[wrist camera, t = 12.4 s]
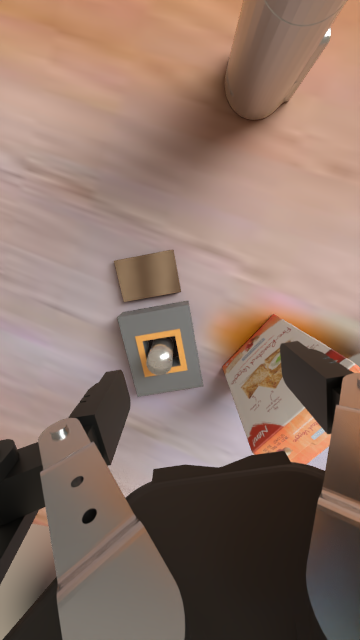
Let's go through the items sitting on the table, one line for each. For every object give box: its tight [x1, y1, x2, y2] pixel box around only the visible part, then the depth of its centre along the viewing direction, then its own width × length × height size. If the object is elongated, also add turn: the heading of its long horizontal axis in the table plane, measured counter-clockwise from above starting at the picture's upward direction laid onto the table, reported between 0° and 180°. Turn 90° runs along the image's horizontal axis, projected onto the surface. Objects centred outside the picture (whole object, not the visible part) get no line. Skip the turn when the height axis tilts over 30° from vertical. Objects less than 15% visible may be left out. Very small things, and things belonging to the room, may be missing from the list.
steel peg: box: [146, 337, 174, 375], centre depth 39 cm, size 4×4×8 cm
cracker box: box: [222, 314, 360, 464], centre depth 33 cm, size 14×6×21 cm, turn 140°
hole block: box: [117, 301, 203, 397], centre depth 41 cm, size 12×15×4 cm
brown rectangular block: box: [114, 250, 181, 302], centre depth 39 cm, size 10×7×2 cm
